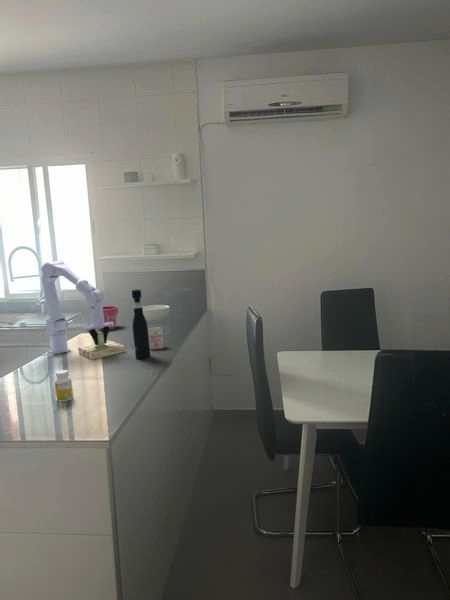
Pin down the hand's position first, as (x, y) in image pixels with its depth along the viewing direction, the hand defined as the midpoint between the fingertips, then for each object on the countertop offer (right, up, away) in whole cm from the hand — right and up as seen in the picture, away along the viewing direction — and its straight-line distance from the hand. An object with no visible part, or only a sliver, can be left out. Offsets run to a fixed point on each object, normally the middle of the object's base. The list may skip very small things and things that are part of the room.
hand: (100, 343), depth 220 cm
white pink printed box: (+26, -2, +1) cm, 26 cm away
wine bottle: (+22, -5, -14) cm, 27 cm away
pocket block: (0, -4, +1) cm, 4 cm away
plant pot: (-11, +3, +57) cm, 58 cm away
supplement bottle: (+4, -13, -60) cm, 61 cm away
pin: (0, -3, 0) cm, 3 cm away
